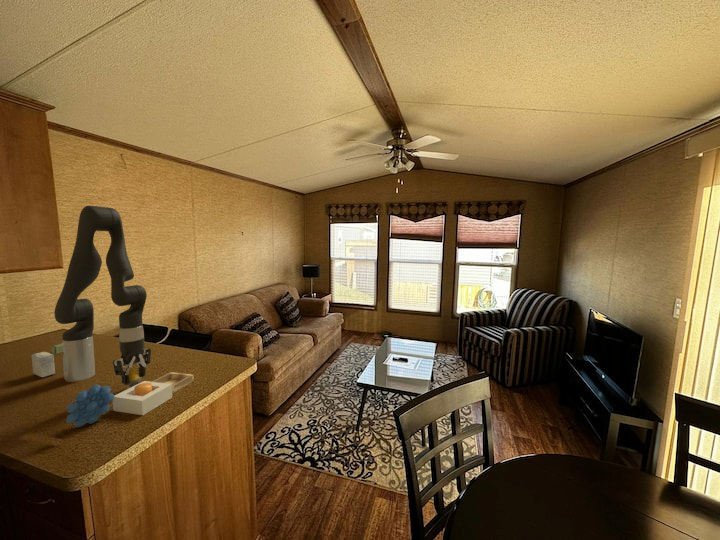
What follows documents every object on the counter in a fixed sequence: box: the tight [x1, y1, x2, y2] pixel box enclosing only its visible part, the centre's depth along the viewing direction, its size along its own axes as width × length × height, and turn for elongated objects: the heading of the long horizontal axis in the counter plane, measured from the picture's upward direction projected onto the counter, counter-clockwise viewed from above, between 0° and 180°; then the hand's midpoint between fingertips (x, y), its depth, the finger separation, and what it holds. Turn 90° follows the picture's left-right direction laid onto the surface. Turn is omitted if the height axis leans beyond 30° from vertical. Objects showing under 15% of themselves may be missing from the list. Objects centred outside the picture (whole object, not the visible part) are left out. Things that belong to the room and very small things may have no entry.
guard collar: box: [112, 380, 173, 416], centre depth 107 cm, size 12×12×5 cm
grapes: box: [65, 384, 115, 428], centre depth 96 cm, size 12×7×12 cm, turn 145°
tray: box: [151, 371, 195, 395], centre depth 120 cm, size 11×11×3 cm
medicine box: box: [31, 351, 56, 378], centre depth 129 cm, size 8×4×9 cm, turn 65°
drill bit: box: [123, 367, 142, 388], centre depth 117 cm, size 5×5×10 cm
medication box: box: [51, 342, 64, 355], centre depth 157 cm, size 12×3×4 cm, turn 166°
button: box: [134, 383, 152, 396], centre depth 107 cm, size 5×5×4 cm
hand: (134, 380), depth 117 cm, fingers open, 6 cm apart
